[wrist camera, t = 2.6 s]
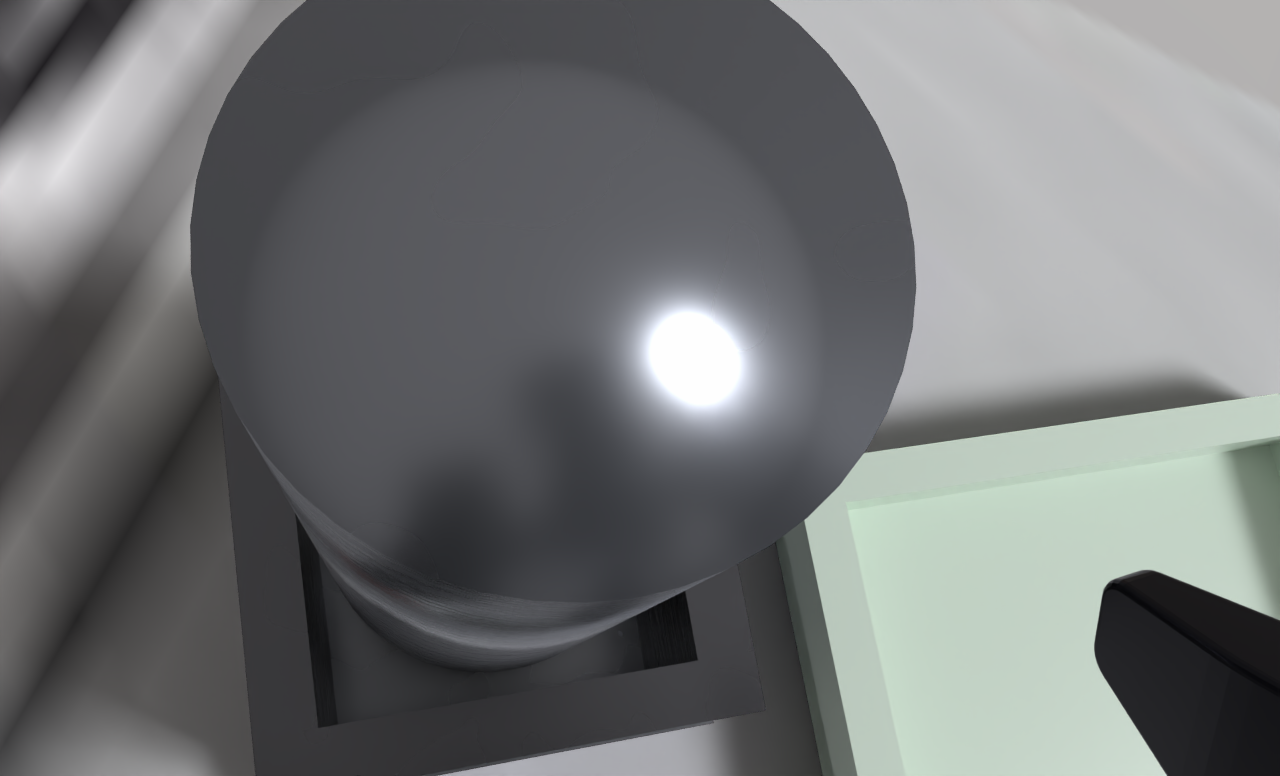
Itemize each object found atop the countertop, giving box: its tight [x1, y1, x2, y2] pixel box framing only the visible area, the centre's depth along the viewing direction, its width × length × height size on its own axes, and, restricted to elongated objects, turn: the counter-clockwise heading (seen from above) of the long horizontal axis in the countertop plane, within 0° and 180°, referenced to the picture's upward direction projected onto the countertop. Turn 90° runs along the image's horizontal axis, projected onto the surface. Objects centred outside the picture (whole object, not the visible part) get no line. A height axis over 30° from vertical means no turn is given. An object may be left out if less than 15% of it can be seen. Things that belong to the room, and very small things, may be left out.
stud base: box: [319, 555, 714, 776], centre depth 19 cm, size 7×7×4 cm
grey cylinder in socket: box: [190, 0, 916, 776], centre depth 14 cm, size 7×7×14 cm
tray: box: [776, 393, 1280, 776], centre depth 21 cm, size 11×11×2 cm
